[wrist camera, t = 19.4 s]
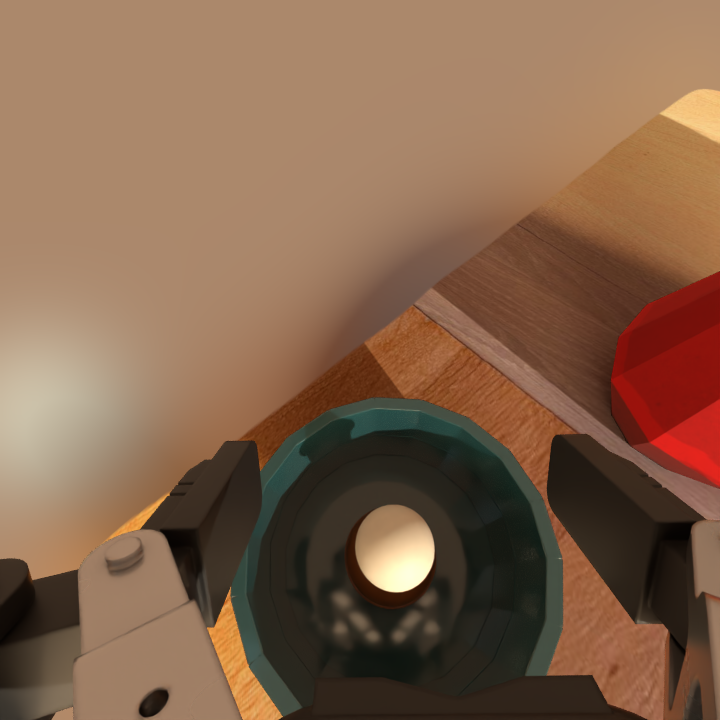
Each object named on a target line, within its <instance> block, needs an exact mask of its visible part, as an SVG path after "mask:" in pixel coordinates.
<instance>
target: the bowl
mask: <svg viewBox="0 0 720 720" xmlns="http://www.w3.org/2000/svg"><path fill="white" fill-rule="evenodd" d="M260 477H261V486H262V506H261V512H260V515H259V518H258V520H257V523H256V525H255V528H254V530H253V533H252V535H251V538H250V540H249V543H248V545H247V548H246V550H245V552H244V555H243V557H242V560H241V562H240V565H239V567H238V570H237V572H236V575H235V577H234V580H233V582H232V585H231V595H230V596H231V603H232V606H233V610H234V614H235V618H236V621H237V625H238V629H239V633H240V636H241V640H242V644H243V648H244V651H245V655H246V659H247V663H248V664H249V668H250V669H251V671H252V672H253V674H254V675H255V677H256V678H257V680H258V681H259V683H260V684H261V685H262V687H263V688H264V690H265V691H266V693H267V694H268V696H269V697H270V698H271V700H272V701H273V703H274V704H275V706H276V707H277V709H278V710H279V711H280V713H281V714H282V716H283V717H284V716H286V715H288V714H290V713H292V712H294V711H296V710H299V709H301V708H304V707H307V706H310V705H312V704H313V696H314V687H315V679H316V678H358V677H384V678H387V679H391V680H395V681H399V682H402V683H406V684H410V685H413V686H417V687H421V688H425V689H428V690H432V691H436V692H439V693H443V694H447V695H451V696H462V695H466V694H469V693H472V692H475V691H478V690H481V689H485V688H488V687H491V686H494V685H497V684H500V683H503V682H506V681H509V680H512V679H516V678H519V677H522V676H546V675H547V672H548V669H549V666H550V664H551V661H552V658H553V655H554V652H555V649H556V647H557V644H558V641H559V638H560V635H561V633H562V630H563V628H562V627H563V559H562V555H561V552H560V549H559V546H558V543H557V540H556V537H555V534H554V531H553V528H552V524H551V521H550V518H549V515H548V512H547V509H546V506H545V503H544V500H543V499H542V496H541V494H540V493H539V492H538V490H537V489H536V487H535V486H534V484H533V483H532V482H531V480H530V479H529V477H528V476H527V474H526V473H525V471H524V470H523V469H522V467H521V466H520V464H519V463H518V461H517V460H516V459H515V457H514V456H513V454H512V453H511V451H509V449H508V448H506V447H505V446H504V445H503V444H501V443H500V442H499V441H497V440H496V439H495V438H494V437H492V436H491V435H490V434H489V433H487V432H486V431H485V430H484V429H482V428H481V427H480V426H478V425H477V424H476V423H475V422H473V421H472V420H471V419H470V418H467V417H466V416H463V415H461V414H458V413H455V412H453V411H450V410H448V409H445V408H442V407H440V406H437V405H435V404H432V403H429V402H427V401H424V400H420V399H402V398H383V397H372V398H369V399H365V400H362V401H358V402H354V403H351V404H347V405H343V406H340V407H336V408H333V409H330V410H327V411H326V412H324V413H323V414H321V415H320V416H318V417H317V418H315V419H314V420H312V421H311V422H309V423H308V424H306V425H305V426H303V427H302V428H300V429H299V430H297V431H296V432H294V433H293V434H291V435H290V436H289V437H287V438H286V439H285V441H284V442H283V443H282V444H281V446H280V447H279V448H278V449H277V451H276V452H275V453H274V455H273V456H272V457H271V458H270V460H269V461H268V462H267V463H266V465H265V466H264V467H263V468H262V470H261V471H260ZM385 505H401V506H405V507H408V508H410V509H412V510H413V511H415V512H416V513H418V514H419V515H420V516H421V517H422V518H423V519H424V521H425V522H426V523H427V525H428V527H429V529H430V531H431V533H432V536H433V540H434V546H435V551H436V569H435V574H434V577H433V580H432V582H431V584H430V586H429V588H428V589H427V591H426V592H425V593H424V595H423V596H422V597H421V598H420V599H418V600H417V601H416V602H414V603H413V604H411V605H409V606H406V607H403V608H399V609H385V608H381V607H378V606H375V605H373V604H371V603H369V602H368V601H367V600H365V599H364V598H363V597H362V596H361V595H360V594H359V593H358V592H357V591H356V590H355V588H354V587H353V585H352V583H351V581H350V579H349V577H348V574H347V571H346V566H345V546H346V541H347V538H348V535H349V533H350V531H351V529H352V528H353V526H354V525H355V523H356V522H357V521H358V520H359V519H360V518H361V517H362V516H363V515H365V514H366V513H368V512H370V511H371V510H374V509H377V508H379V507H382V506H385Z"/></svg>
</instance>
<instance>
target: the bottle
mask: <svg viewBox="0 0 720 720" xmlns="http://www.w3.org/2000/svg"><path fill="white" fill-rule="evenodd" d="M611 411H612V416H613V418H614V420H615V421H616V423H617V425H618V426H619V428H620V430H621V432H622V433H623V435H624V437H625V438H626V440H627V442H628V443H629V445H630V446H631V447H632V448H634V449H635V450H637V451H639V452H640V453H642V454H643V455H645V456H646V457H648V458H649V459H651V460H652V461H654V462H656V463H657V464H659V465H660V466H662V467H663V468H665V469H667V470H670V471H673V472H675V473H678V474H681V475H683V476H686V477H689V478H692V479H694V480H697V481H700V482H702V483H705V484H708V485H711V486H713V487H716V488H719V489H720V271H719V272H717V273H715V274H713V275H710V276H708V277H706V278H704V279H702V280H699V281H697V282H695V283H693V284H691V285H689V286H686V287H684V288H682V289H680V290H678V291H676V292H673V293H671V294H669V295H667V296H665V297H662V298H660V299H658V300H656V301H654V302H652V303H649V304H647V305H646V306H645V307H644V308H643V310H642V311H641V312H640V313H639V314H638V315H637V316H636V318H635V319H634V320H633V321H632V322H631V323H630V325H629V326H628V327H627V328H626V329H625V330H624V332H623V333H622V334H621V335H620V336H619V338H618V344H617V349H616V355H615V360H614V366H613V371H612V377H611Z"/></svg>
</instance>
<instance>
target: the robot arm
mask: <svg viewBox="0 0 720 720" xmlns="http://www.w3.org/2000/svg"><path fill="white" fill-rule="evenodd" d="M547 496H548V501H549V504H550V507H551V509H552V511H553V512H554V514H555V515H556V516H557V518H558V519H559V520H560V522H561V523H562V525H563V526H564V527H565V529H566V530H567V531H568V533H569V534H570V535H571V537H572V538H573V539H574V541H575V542H576V544H577V545H578V546H579V548H580V549H581V550H582V552H583V553H584V554H585V556H586V557H587V558H588V560H589V561H590V563H591V564H592V565H593V567H594V568H595V569H596V571H597V572H598V573H599V575H600V576H601V578H602V579H603V580H604V582H605V583H606V584H607V586H608V587H609V588H610V590H611V591H612V592H613V594H614V595H615V597H616V598H617V599H618V601H619V602H620V603H621V605H622V606H623V607H624V609H625V610H626V612H627V613H628V614H629V616H630V617H631V618H632V620H633V621H634V622H635V624H664V625H665V627H666V628H667V629H668V634H667V639H666V644H665V674H664V719H663V720H720V521H719V520H706V519H705V518H704V517H703V516H701V515H700V514H699V513H697V512H696V511H695V510H693V509H692V508H691V507H690V506H688V505H687V504H686V503H684V502H683V501H682V500H681V499H679V498H678V497H677V496H675V495H674V494H673V493H671V492H670V491H669V490H668V489H666V488H662V485H661V484H660V483H658V482H657V481H656V480H655V479H653V478H652V477H649V476H648V474H647V473H646V472H644V471H643V470H642V469H640V468H639V467H638V466H636V465H635V464H634V463H633V462H631V461H628V460H626V459H624V458H622V457H620V456H618V455H616V454H614V453H612V452H610V451H608V450H607V449H606V448H605V447H603V446H602V445H601V444H600V443H598V442H597V441H596V440H595V439H593V438H592V437H591V436H589V435H587V434H565V435H556V436H555V437H554V438H553V440H552V445H551V453H550V463H549V472H548V481H547ZM261 506H262V486H261V477H260V468H259V459H258V450H257V445H256V443H255V441H226V442H225V443H224V444H223V445H222V446H221V448H220V449H219V450H218V452H217V453H216V454H215V456H214V457H213V458H212V460H204V461H202V462H201V463H199V464H198V465H196V466H195V467H193V468H192V469H190V470H189V471H188V472H187V473H186V474H185V475H184V477H183V478H182V479H181V480H180V481H179V483H178V485H176V486H175V488H174V489H173V490H172V491H171V492H170V496H167V497H166V499H165V500H164V501H163V502H162V503H161V505H160V506H159V507H158V508H157V509H156V511H155V512H154V513H153V514H152V516H151V517H150V518H149V519H148V520H147V522H146V523H145V524H144V525H143V526H142V528H141V529H140V530H136V531H132V532H128V533H125V534H121V535H119V536H117V537H114V538H112V539H110V540H108V541H106V542H105V543H103V544H101V545H100V546H98V547H97V548H96V549H95V550H93V551H92V552H91V553H90V554H89V555H88V556H87V557H86V558H85V559H84V560H83V562H82V564H81V565H80V568H79V569H78V570H74V571H70V572H65V573H61V574H57V575H53V576H49V577H45V578H40V579H37V580H32V578H31V575H30V572H29V569H28V565H27V563H25V562H24V561H22V560H20V559H1V560H0V720H51V719H52V718H53V716H54V715H55V713H56V712H58V711H61V710H64V709H67V708H70V707H73V716H74V717H73V720H242V717H241V714H240V712H239V709H238V707H237V704H236V702H235V699H234V697H233V694H232V691H231V689H230V686H229V684H228V681H227V679H226V676H225V673H224V671H223V668H222V666H221V663H220V661H219V658H218V656H217V653H216V650H215V648H214V645H213V643H212V640H211V638H210V635H209V632H208V630H207V627H214V626H215V624H216V621H217V619H218V617H219V614H220V612H221V609H222V607H223V604H224V602H225V599H226V597H227V594H228V592H229V589H230V587H231V585H232V582H233V580H234V577H235V575H236V572H237V570H238V567H239V565H240V562H241V560H242V557H243V555H244V552H245V550H246V548H247V545H248V543H249V540H250V538H251V535H252V533H253V530H254V528H255V525H256V523H257V520H258V518H259V515H260V512H261ZM279 720H647V719H645V718H643V717H641V716H639V715H637V714H635V713H632V712H629V711H627V710H624V709H621V708H618V707H616V706H613V705H609V704H607V702H606V700H605V698H604V696H603V694H602V692H601V691H600V689H599V687H598V685H597V683H596V681H595V680H594V678H593V676H592V675H568V676H522V677H519V678H516V679H512V680H509V681H506V682H503V683H500V684H497V685H494V686H491V687H488V688H485V689H481V690H478V691H475V692H472V693H469V694H466V695H462V696H451V695H447V694H443V693H439V692H436V691H432V690H428V689H425V688H421V687H417V686H413V685H410V684H406V683H402V682H399V681H395V680H391V679H387V678H384V677H358V678H316V679H315V687H314V696H313V704H312V705H310V706H307V707H304V708H301V709H299V710H296V711H294V712H292V713H290V714H288V715H286V716H284V717H282V718H281V719H279Z"/></svg>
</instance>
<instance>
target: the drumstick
mask: <svg viewBox="0 0 720 720" xmlns="http://www.w3.org/2000/svg"><path fill="white" fill-rule="evenodd" d="M345 566H346V571H347V574H348V577H349V579H350V581H351V583H352V585H353V587H354V588H355V590H356V591H357V592H358V593H359V594H360V595H361V596H362V597H363V598H364V599H365V600H367V601H368V602H369V603H371V604H373V605H375V606H378V607H381V608H385V609H399V608H403V607H406V606H409V605H411V604H413V603H414V602H416V601H417V600H418V599H420V598H421V597H422V596H423V595H424V593H425V592H426V591H427V589H428V588H429V586H430V584H431V582H432V580H433V577H434V574H435V569H436V551H435V546H434V540H433V536H432V533H431V531H430V529H429V527H428V525H427V523H426V522H425V521H424V519H423V518H422V517H421V516H420V515H419V514H418V513H416V512H415V511H413V510H412V509H410V508H408V507H405V506H401V505H385V506H382V507H379V508H377V509H374V510H371V511H370V512H368V513H366V514H365V515H363V516H362V517H361V518H360V519H359V520H358V521H357V522H356V523H355V525H354V526H353V528H352V529H351V531H350V533H349V535H348V538H347V541H346V546H345Z"/></svg>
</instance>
